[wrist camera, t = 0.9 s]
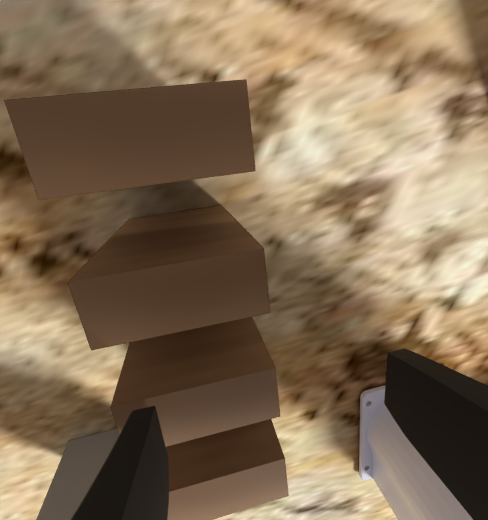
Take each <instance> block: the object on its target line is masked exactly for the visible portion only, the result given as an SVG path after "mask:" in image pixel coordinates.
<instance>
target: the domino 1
mask: <svg viewBox="0 0 488 520" xmlns="http://www.w3.org/2000/svg"><path fill="white" fill-rule="evenodd" d="M118 436H119V431H118V428H117V429H113V430H109V431H105V432H101V433H97V434H93V435H89V436H85V437H81V438H77V439H73V440H69V441H68V444H67V446H66V449H65V451H64V454H63V456H62V459H61V461H60V463H59V466H58V468H57V471H56V473H55V476H54V478H53V480H52V483H51V485H50V488H49V490H48V493H47V495H46V498H45V500H44V502H43V505H42V507H41V510H40V512H39V515H38V517H37V519H36V520H71V518H72V516H73V515H74V513H75V512H76V510H77V508H78V507H79V505H80V503H81V502H82V500H83V498H84V497H85V495H86V493H87V492H88V490H89V488H90V486H91V485H92V483H93V481H94V479H95V478H96V476H97V474H98V473H99V471H100V469H101V467H102V466H103V464H104V462H105V460H106V458H107V457H108V455H109V453H110V451H111V449H112V447H113V445H114V444H115V442H116V440H117V438H118Z"/></svg>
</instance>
